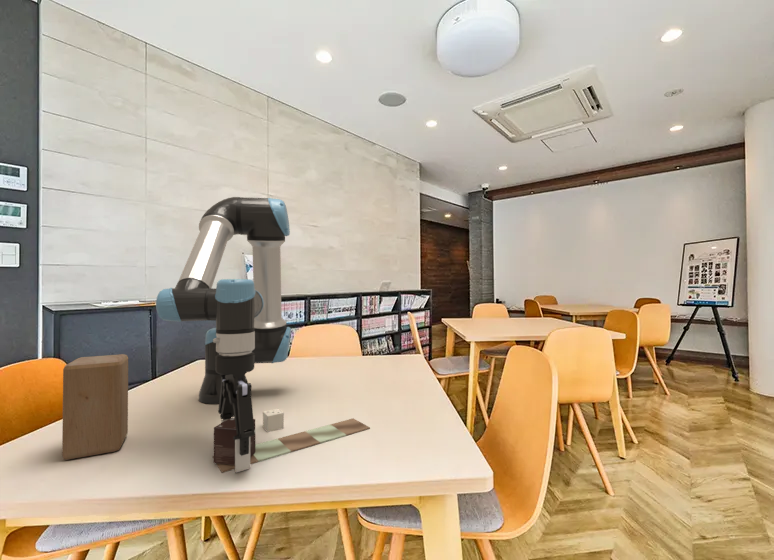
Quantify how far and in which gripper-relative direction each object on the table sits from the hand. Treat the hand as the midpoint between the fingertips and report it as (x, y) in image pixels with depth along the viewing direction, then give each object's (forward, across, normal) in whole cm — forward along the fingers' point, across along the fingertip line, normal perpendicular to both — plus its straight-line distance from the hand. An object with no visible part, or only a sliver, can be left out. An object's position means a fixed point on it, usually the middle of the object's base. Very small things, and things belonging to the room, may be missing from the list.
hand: (234, 458), depth 75 cm
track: (0, 0, +14) cm, 14 cm away
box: (0, 0, 0) cm, 0 cm away
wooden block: (0, -25, -23) cm, 34 cm away
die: (0, -12, +12) cm, 17 cm away
